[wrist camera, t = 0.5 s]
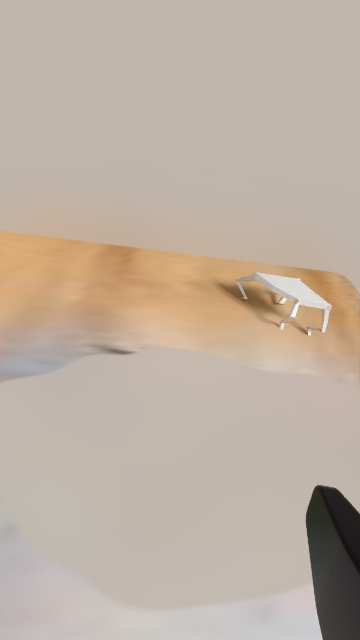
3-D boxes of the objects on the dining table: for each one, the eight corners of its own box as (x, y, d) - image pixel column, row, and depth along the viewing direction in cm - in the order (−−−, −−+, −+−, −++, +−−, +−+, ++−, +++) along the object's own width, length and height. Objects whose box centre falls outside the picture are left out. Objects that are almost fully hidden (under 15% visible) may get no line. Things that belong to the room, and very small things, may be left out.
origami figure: (305, 306, 49) (323, 279, 46) (318, 344, 42) (339, 316, 39) (229, 283, 48) (242, 254, 45) (230, 319, 41) (245, 288, 38)
